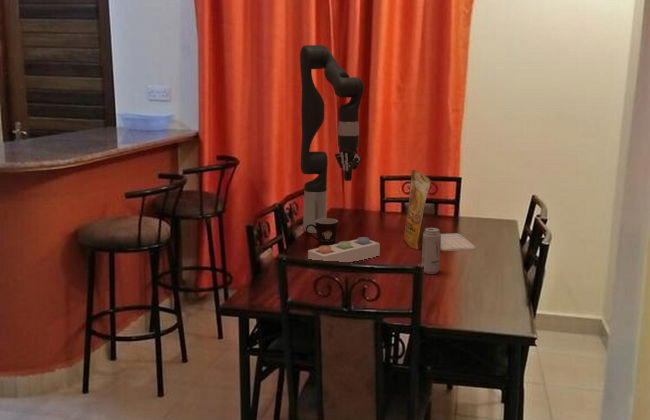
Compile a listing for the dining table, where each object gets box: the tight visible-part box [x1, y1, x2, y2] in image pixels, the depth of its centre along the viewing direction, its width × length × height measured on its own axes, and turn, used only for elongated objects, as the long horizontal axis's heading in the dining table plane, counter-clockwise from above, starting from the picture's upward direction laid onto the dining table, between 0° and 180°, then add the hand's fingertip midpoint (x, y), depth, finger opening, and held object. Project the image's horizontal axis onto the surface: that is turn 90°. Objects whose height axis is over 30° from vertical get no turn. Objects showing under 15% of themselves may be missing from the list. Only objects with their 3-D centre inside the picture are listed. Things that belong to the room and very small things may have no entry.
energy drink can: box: [421, 227, 442, 275], centre depth 231 cm, size 6×6×15 cm
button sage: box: [337, 240, 351, 250], centre depth 244 cm, size 4×4×3 cm
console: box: [307, 239, 381, 262], centre depth 244 cm, size 9×26×5 cm, turn 128°
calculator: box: [440, 233, 476, 252], centre depth 266 cm, size 13×20×2 cm, turn 8°
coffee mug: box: [305, 217, 339, 246], centre depth 261 cm, size 12×9×10 cm
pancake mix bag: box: [403, 169, 432, 250], centre depth 262 cm, size 7×19×28 cm, turn 7°
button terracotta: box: [318, 245, 331, 254], centre depth 238 cm, size 4×4×3 cm
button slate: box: [357, 236, 370, 245], centre depth 249 cm, size 4×4×3 cm
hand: (347, 180), depth 249 cm, fingers closed
